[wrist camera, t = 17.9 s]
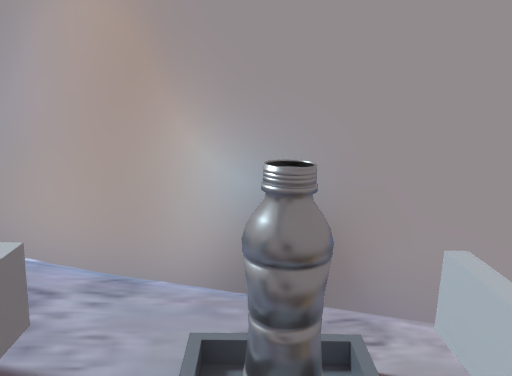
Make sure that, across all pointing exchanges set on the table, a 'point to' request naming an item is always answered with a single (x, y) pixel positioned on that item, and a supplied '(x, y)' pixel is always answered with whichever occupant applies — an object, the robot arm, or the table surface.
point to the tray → (235, 344)
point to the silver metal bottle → (286, 273)
